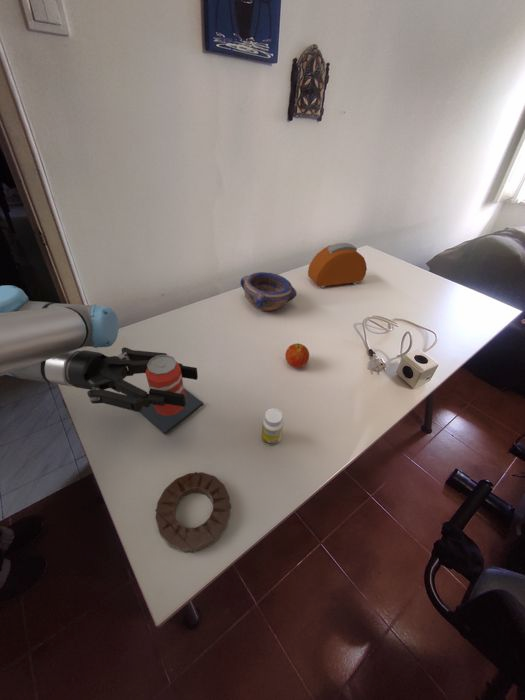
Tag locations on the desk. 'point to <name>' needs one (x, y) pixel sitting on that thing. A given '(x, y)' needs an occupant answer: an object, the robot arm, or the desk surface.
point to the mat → (172, 421)
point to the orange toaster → (337, 265)
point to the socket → (204, 533)
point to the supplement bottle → (272, 426)
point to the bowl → (267, 290)
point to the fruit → (297, 355)
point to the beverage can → (165, 380)
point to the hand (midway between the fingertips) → (190, 386)
